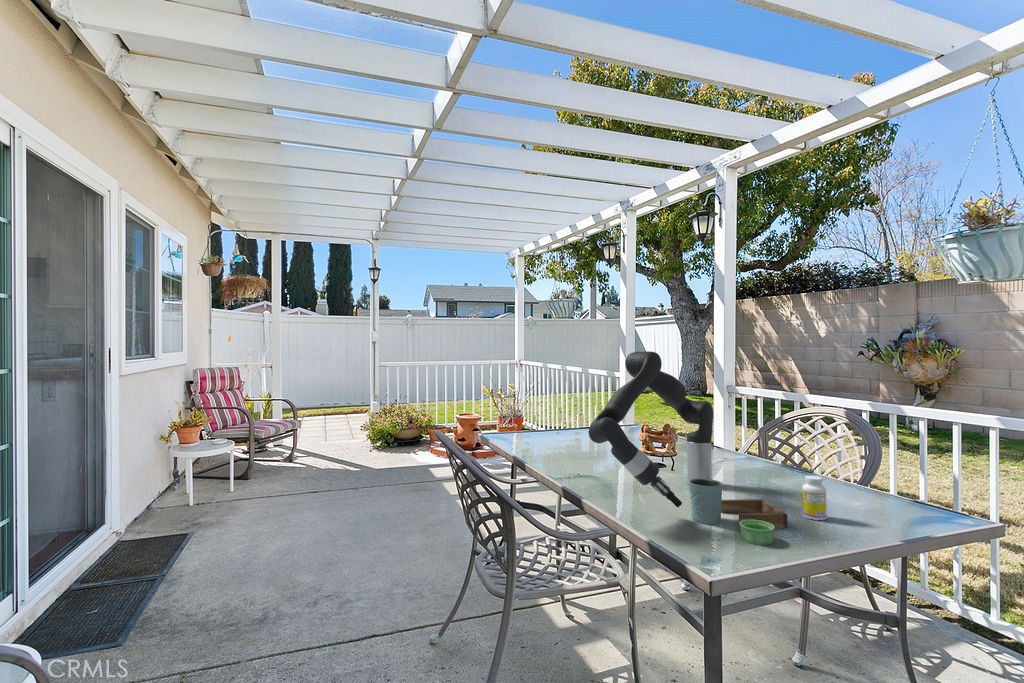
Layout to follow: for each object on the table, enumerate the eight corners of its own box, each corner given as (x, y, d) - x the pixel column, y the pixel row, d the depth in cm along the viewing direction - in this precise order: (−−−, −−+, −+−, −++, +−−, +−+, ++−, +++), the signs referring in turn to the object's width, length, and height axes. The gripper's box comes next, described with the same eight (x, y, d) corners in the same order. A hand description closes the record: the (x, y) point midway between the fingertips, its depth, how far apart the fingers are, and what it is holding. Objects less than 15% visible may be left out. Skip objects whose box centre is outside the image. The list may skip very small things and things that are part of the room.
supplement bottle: (806, 512, 167) (805, 473, 167) (829, 517, 162) (828, 477, 162) (799, 517, 162) (799, 477, 162) (823, 522, 157) (822, 481, 158)
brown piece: (719, 511, 169) (719, 499, 169) (762, 511, 169) (762, 499, 169) (740, 528, 154) (740, 514, 154) (787, 527, 154) (787, 514, 154)
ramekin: (749, 532, 151) (749, 517, 151) (780, 541, 143) (780, 525, 143) (733, 539, 145) (733, 523, 145) (764, 548, 138) (764, 532, 138)
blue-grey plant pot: (702, 526, 155) (701, 487, 155) (682, 516, 165) (682, 479, 165) (730, 523, 158) (729, 484, 158) (709, 513, 168) (708, 476, 168)
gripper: (654, 462, 155) (695, 502, 155) (643, 453, 168) (681, 490, 168) (637, 480, 155) (678, 520, 155) (627, 470, 168) (665, 506, 168)
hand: (679, 504), depth 161 cm, fingers closed
